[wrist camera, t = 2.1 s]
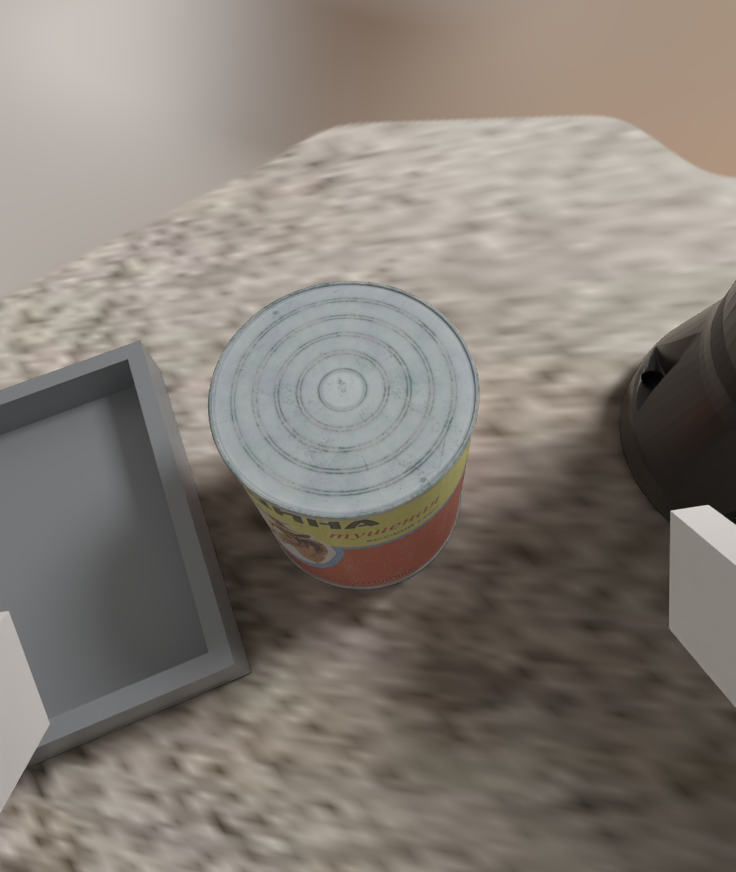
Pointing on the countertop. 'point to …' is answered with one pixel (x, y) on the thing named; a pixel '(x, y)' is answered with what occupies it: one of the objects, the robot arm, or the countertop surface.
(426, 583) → the countertop surface
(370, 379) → the canned food
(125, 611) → the tray
